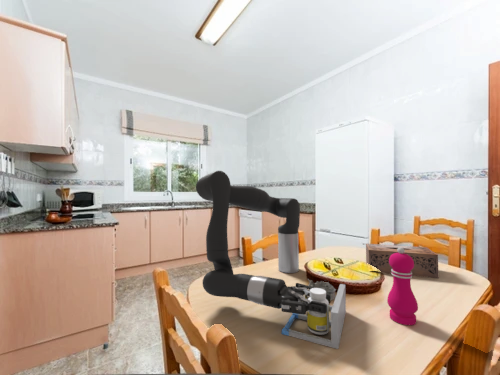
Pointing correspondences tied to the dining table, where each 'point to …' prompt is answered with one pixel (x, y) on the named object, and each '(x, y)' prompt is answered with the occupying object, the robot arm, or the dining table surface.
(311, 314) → the supplement bottle
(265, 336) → the dining table surface
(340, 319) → the grey panel rail frame
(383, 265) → the tissue box cover
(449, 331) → the dining table surface
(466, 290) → the dining table surface
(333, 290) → the egg carton
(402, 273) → the pepper mill
